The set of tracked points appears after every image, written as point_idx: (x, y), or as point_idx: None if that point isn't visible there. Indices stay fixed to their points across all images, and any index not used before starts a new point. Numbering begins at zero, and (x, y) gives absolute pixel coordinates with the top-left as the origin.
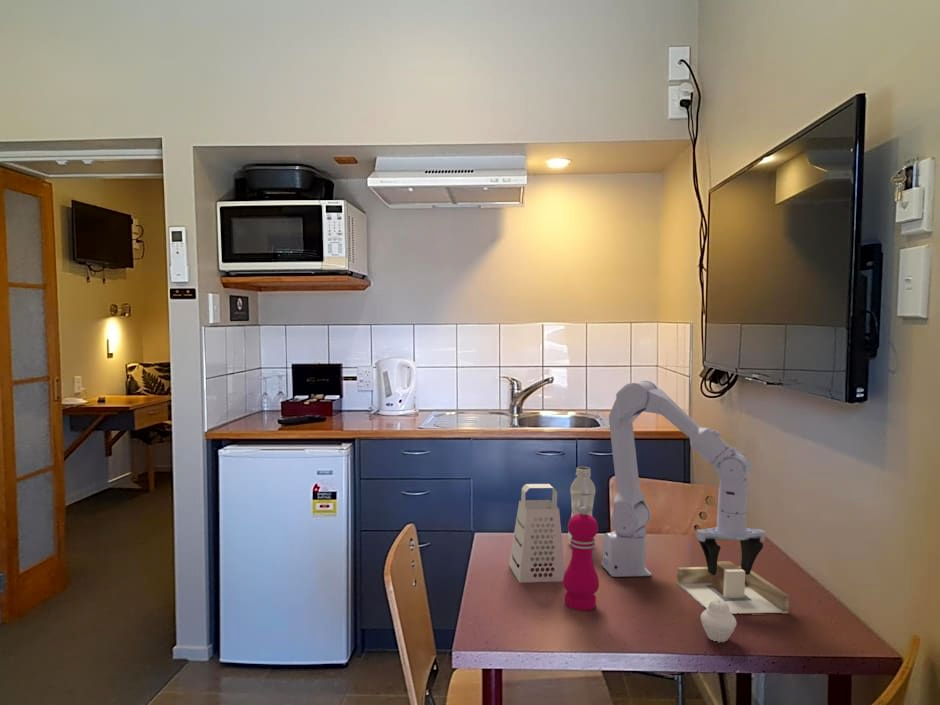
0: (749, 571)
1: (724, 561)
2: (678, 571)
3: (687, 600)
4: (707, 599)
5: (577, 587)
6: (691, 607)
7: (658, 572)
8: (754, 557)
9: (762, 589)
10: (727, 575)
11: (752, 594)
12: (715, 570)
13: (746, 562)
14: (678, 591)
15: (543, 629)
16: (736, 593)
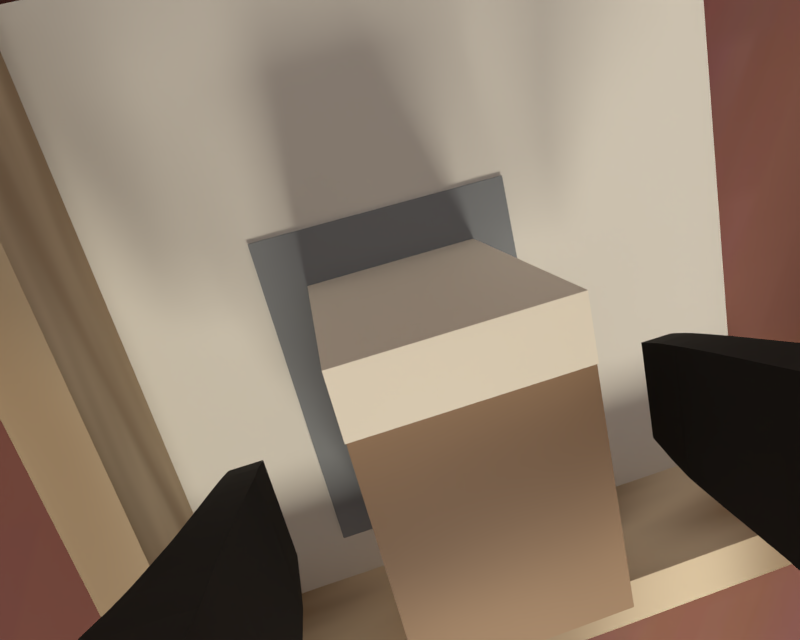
0: (227, 482)
1: None
2: None
3: (765, 173)
4: (634, 181)
5: None
6: (787, 32)
7: (776, 622)
8: (115, 626)
9: (106, 375)
10: (558, 283)
11: (208, 381)
12: (698, 339)
13: (259, 587)
14: (767, 333)
15: None
16: (387, 272)
